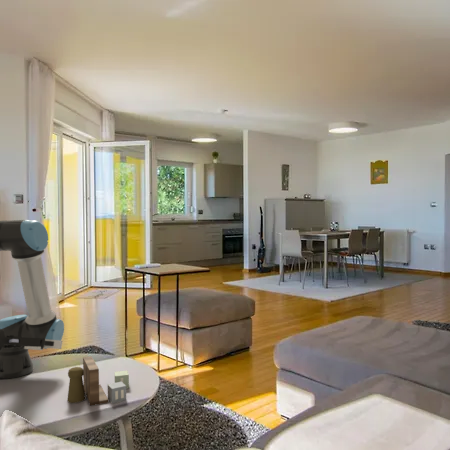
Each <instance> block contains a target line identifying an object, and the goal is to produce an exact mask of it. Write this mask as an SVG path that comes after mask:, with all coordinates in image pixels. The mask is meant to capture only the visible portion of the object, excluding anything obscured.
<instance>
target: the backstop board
mask: <svg viewBox="0 0 450 450" xmlns="http://www.w3.org/2000/svg"><path fill="white" fill-rule="evenodd" d="M82 364H83V365H82V367H83V368H82V369H83V370H84V374H83V376H82V379H83V385H84V392H85V398H86V399H87V401H88V403H89V406H91V407H92V406H97V405H101V404H107V403H109V399H108V395H107V394H106V392H105V390H104V389H103V387H102V385H101V384H100V371H99V370H100V369H99V367H98V365H97V363H96V361H95V359H94V358H93V356H91V355H90V356H84V357H82Z"/></svg>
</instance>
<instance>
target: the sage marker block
mask: <svg viewBox="0 0 450 450" xmlns="http://www.w3.org/2000/svg"><path fill="white" fill-rule="evenodd" d="M129 375H130V374H129V370H122V371H121V370H120V371H114V383H117V382H123V383H124V384H125V385H126V389H129V388H130V379H129V377H130V376H129Z"/></svg>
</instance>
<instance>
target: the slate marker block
mask: <svg viewBox="0 0 450 450" xmlns="http://www.w3.org/2000/svg"><path fill="white" fill-rule="evenodd" d="M107 398H108V401H109V402H110V403H112V404H115V403H120V402H123V401H127V388H126V385H125V384H124V383H123V382H117V383H115V382H113V383H112V382H111V383H109V384H108V383H107Z"/></svg>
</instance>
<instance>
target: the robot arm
mask: <svg viewBox="0 0 450 450" xmlns="http://www.w3.org/2000/svg"><path fill="white" fill-rule="evenodd" d="M48 241H49V234H48V230H47V228H46V227H45V225H44V224H43V223H42V222H41V221H38V220H32V219H21V220H20V219H19V220H18V219H17V220H0V252H3V251H4V252H6V251H7V252H10V254H11V258H12V259H13V260H15V261H16V262H17V266H18V272H19V275H20V282H21V286H22V291H23V296H24V300H25V305H26V310H27V314H18V315H12V316H8V317H4V318H1V319H0V379H13V378H19V377H22V376H26V375H29V374H31V373H32V372H33V371H34V363H33V360H32V358H31V356H30V353H29V350H34V351H43V350H44V349H45V350H47V349H54V350H55V349H56V350H57V349H58V350H62V345H63V340H62V339H63V336H64V331H65V323H64V321H63V320H62V319H60V318H57V313H56V311H54V310H52V309H51V303H50V298H49V293H48V287H47V283H46V276H45V271H44V267H43V260H42V256H43V254H44V253H45V249H46V248H47V247H48V243H49V242H48Z"/></svg>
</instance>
